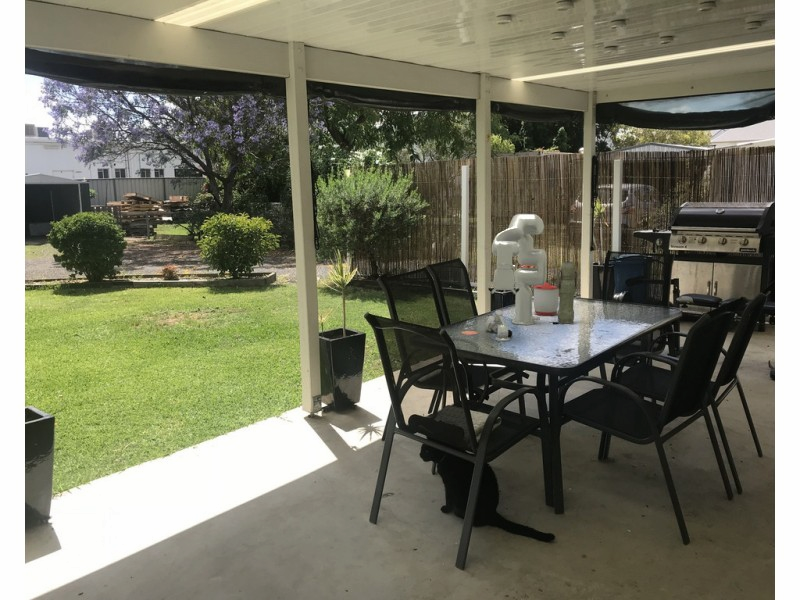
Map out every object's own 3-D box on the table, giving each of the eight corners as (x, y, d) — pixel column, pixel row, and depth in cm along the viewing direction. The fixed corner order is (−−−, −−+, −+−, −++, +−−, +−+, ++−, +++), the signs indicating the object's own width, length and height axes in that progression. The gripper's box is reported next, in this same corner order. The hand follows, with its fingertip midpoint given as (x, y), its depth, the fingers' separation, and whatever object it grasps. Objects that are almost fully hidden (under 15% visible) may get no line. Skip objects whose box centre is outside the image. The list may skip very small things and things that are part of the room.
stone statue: (579, 324, 364) (581, 262, 359) (560, 325, 361) (562, 263, 356) (571, 321, 373) (573, 261, 367) (552, 322, 370) (554, 261, 364)
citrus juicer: (564, 316, 386) (565, 283, 382) (535, 316, 386) (536, 283, 383) (558, 312, 401) (559, 280, 398) (530, 312, 401) (531, 280, 398)
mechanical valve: (499, 323, 352) (506, 306, 340) (512, 350, 341) (520, 333, 330) (482, 326, 349) (489, 309, 338) (494, 353, 338) (501, 335, 327)
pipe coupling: (509, 338, 329) (509, 324, 327) (509, 341, 322) (510, 326, 320) (495, 338, 329) (495, 323, 328) (495, 341, 323) (496, 326, 321)
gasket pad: (478, 331, 345) (478, 331, 345) (478, 335, 336) (478, 334, 336) (461, 331, 346) (461, 330, 346) (460, 334, 338) (460, 334, 338)
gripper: (521, 266, 322) (520, 300, 325) (486, 266, 324) (485, 299, 327) (522, 268, 315) (521, 302, 317) (486, 267, 317) (486, 302, 319)
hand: (503, 301), depth 322 cm, fingers open, 9 cm apart
